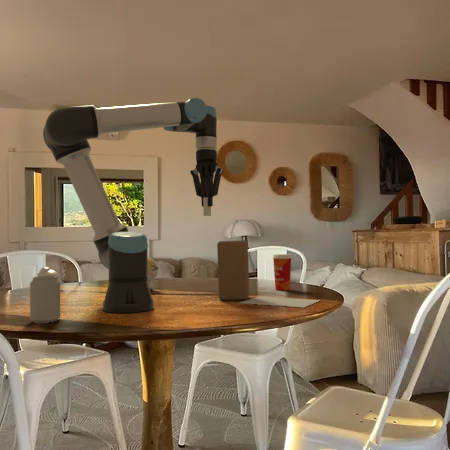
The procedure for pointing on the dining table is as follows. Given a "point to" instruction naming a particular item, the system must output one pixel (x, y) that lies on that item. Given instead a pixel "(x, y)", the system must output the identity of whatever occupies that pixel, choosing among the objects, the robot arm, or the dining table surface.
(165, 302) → the dining table surface
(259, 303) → the felt mat
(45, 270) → the ghost figurine
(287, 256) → the paper cup
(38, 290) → the can
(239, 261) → the block
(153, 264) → the kitten
